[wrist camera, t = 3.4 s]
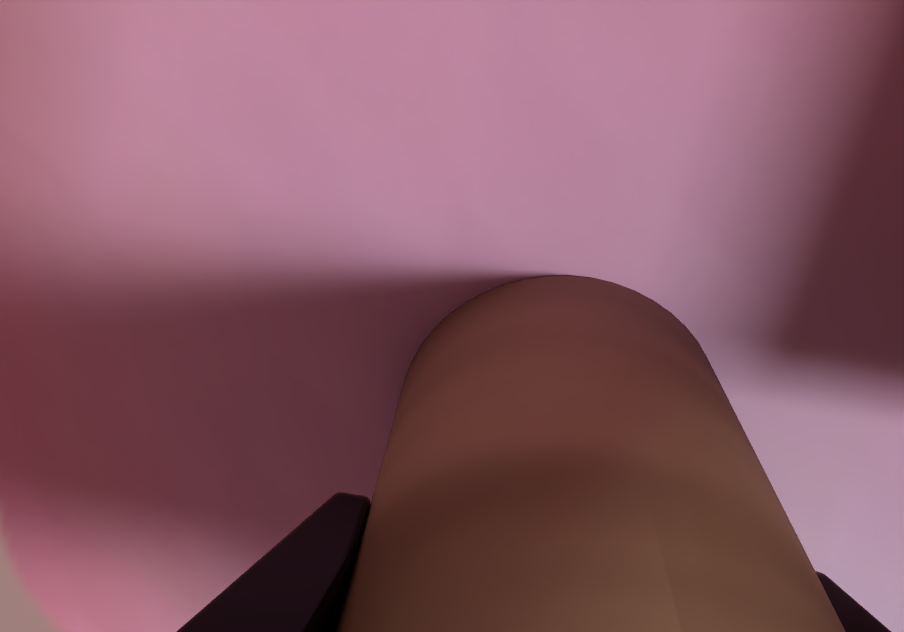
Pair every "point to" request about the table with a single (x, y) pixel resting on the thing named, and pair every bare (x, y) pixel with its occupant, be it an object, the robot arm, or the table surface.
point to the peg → (574, 482)
